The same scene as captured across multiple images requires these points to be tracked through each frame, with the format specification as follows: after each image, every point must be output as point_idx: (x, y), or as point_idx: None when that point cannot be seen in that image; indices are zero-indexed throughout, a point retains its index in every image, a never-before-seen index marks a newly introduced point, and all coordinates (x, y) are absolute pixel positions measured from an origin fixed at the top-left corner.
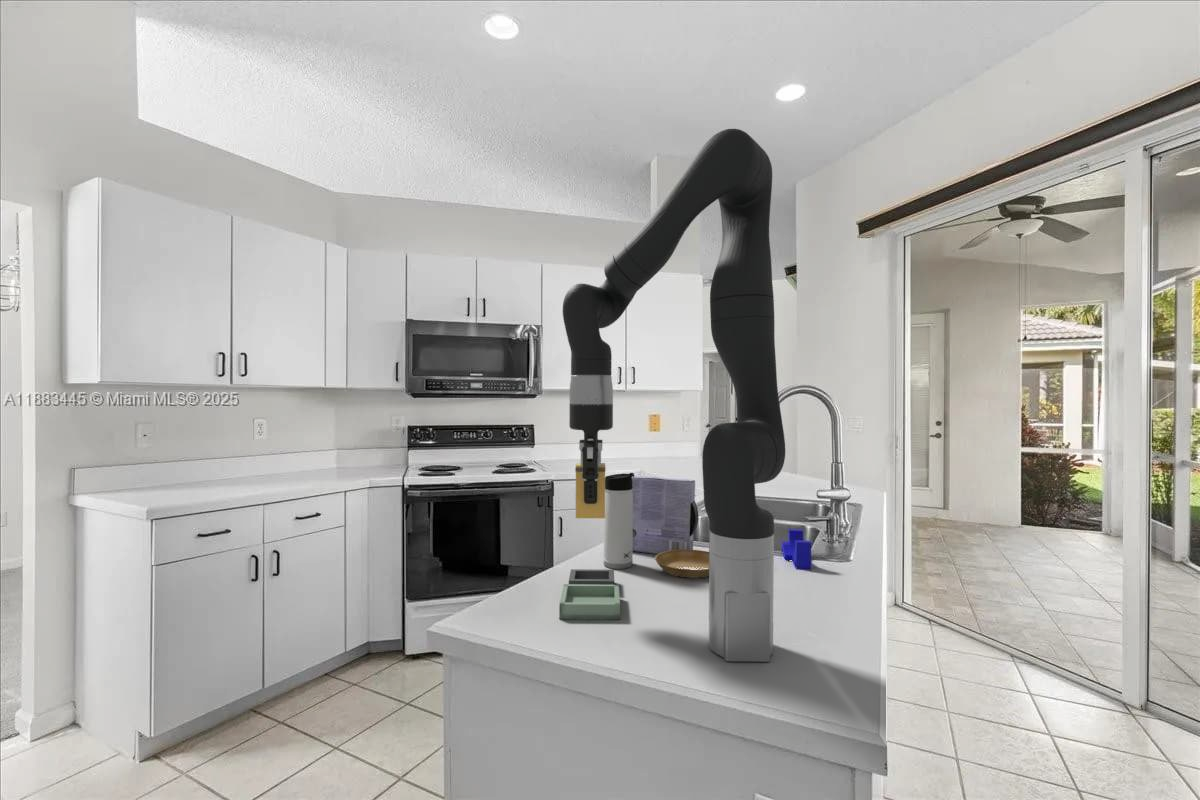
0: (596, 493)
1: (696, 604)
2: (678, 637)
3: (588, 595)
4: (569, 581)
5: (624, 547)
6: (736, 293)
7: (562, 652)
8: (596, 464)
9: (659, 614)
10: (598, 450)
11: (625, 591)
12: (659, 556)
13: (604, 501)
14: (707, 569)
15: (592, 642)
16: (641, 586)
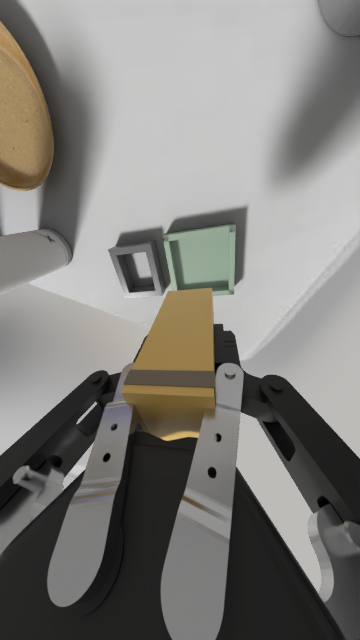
0: (223, 338)
1: (165, 87)
2: (302, 117)
3: (176, 269)
4: (162, 294)
5: (43, 243)
6: None
7: (314, 272)
8: (350, 451)
9: (213, 163)
10: (232, 523)
11: (140, 227)
12: (9, 184)
13: (212, 307)
14: (22, 51)
15: (295, 246)
16: (116, 205)
